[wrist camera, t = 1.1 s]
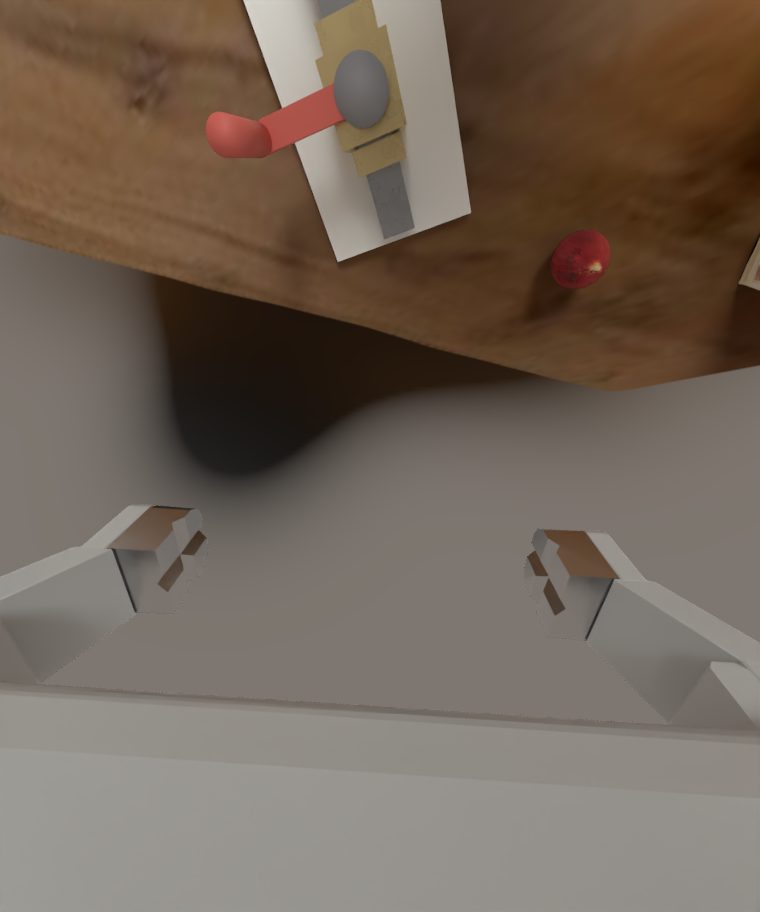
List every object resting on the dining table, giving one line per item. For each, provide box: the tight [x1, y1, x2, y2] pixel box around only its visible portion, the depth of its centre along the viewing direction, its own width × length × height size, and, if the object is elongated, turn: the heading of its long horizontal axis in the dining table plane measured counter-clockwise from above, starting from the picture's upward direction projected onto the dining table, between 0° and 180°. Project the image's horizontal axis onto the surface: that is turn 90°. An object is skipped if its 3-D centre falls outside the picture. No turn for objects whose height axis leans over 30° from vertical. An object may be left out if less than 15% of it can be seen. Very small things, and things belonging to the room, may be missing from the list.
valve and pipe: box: [314, 0, 415, 239], centre depth 33 cm, size 22×6×7 cm, turn 18°
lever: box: [206, 50, 389, 158], centre depth 28 cm, size 13×4×9 cm, turn 108°
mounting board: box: [243, 0, 471, 262], centre depth 36 cm, size 24×16×1 cm, turn 18°
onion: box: [550, 229, 611, 289], centre depth 41 cm, size 6×6×8 cm
